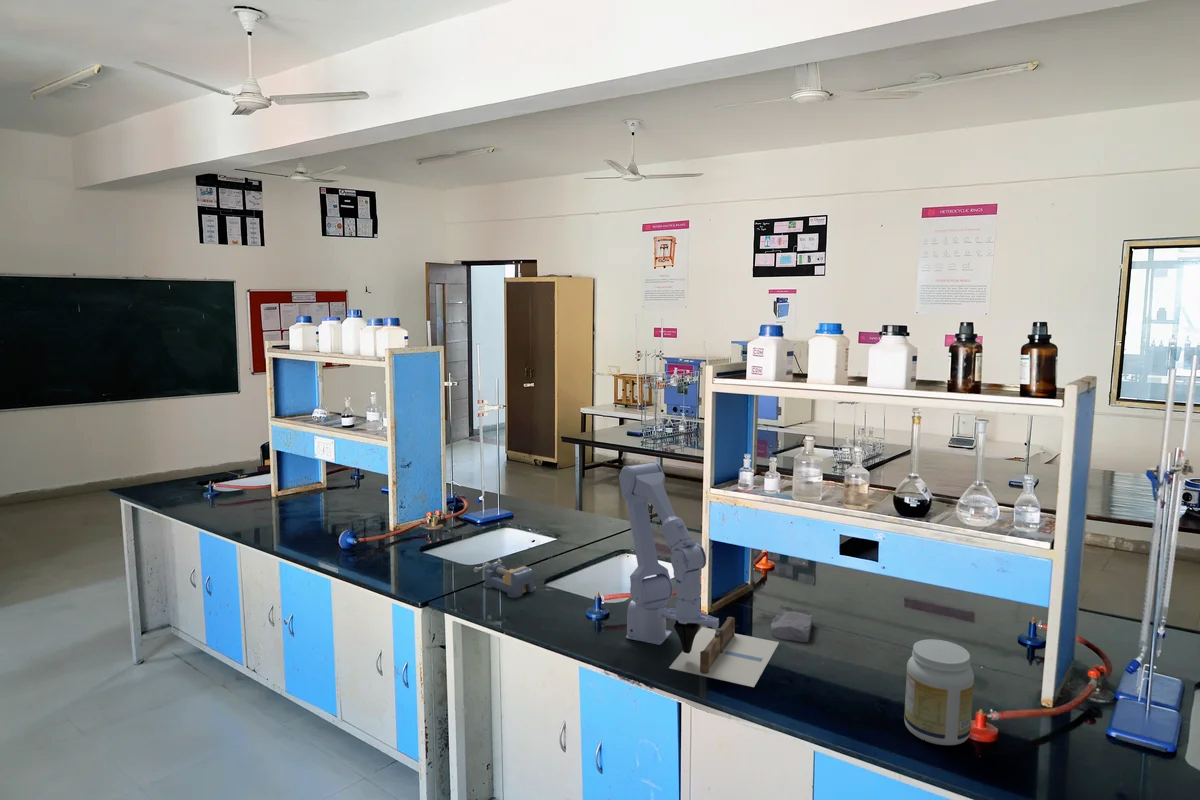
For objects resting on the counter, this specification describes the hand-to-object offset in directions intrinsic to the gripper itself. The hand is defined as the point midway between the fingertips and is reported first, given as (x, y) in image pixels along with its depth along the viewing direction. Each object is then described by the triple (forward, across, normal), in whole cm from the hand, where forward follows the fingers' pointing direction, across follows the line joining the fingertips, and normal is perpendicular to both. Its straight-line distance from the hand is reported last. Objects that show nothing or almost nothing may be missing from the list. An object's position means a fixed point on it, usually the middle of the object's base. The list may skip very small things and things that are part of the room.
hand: (687, 651), depth 183 cm
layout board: (+3, +7, +7) cm, 10 cm away
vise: (+3, -64, +21) cm, 67 cm away
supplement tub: (+3, +54, -5) cm, 55 cm away
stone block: (+3, +18, +27) cm, 33 cm away
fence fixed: (+2, +5, +12) cm, 14 cm away
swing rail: (+2, +5, +2) cm, 6 cm away
